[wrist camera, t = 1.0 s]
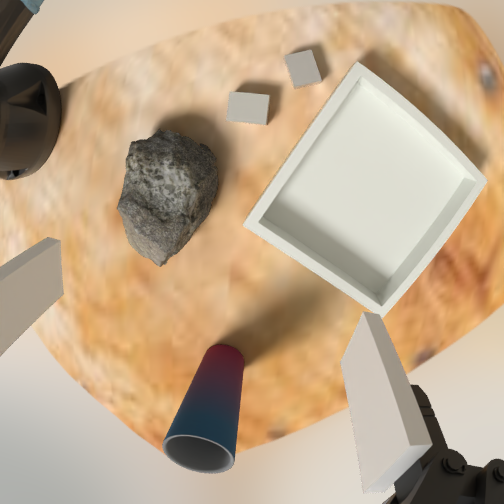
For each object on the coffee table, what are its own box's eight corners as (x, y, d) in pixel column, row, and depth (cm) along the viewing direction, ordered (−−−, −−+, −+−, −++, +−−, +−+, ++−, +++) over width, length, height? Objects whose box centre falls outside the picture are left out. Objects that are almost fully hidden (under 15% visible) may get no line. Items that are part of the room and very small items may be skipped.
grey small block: (230, 121, 30) (226, 120, 28) (233, 94, 29) (229, 91, 27) (267, 125, 29) (265, 124, 27) (270, 97, 28) (269, 95, 26)
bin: (246, 215, 32) (242, 225, 29) (349, 68, 26) (356, 61, 23) (374, 302, 34) (382, 318, 31) (470, 175, 28) (487, 180, 25)
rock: (143, 127, 30) (113, 128, 24) (225, 133, 30) (211, 134, 24) (138, 249, 35) (112, 273, 29) (212, 261, 35) (198, 289, 29)
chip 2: (284, 60, 27) (283, 55, 25) (309, 54, 26) (311, 49, 25) (293, 89, 28) (294, 86, 26) (319, 83, 27) (321, 80, 26)
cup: (253, 341, 38) (235, 442, 24) (249, 382, 40) (233, 477, 26) (197, 334, 38) (157, 428, 24) (198, 375, 40) (166, 465, 26)
